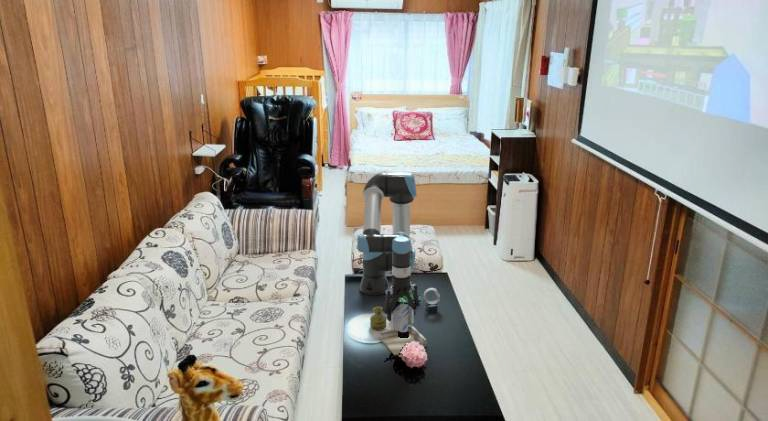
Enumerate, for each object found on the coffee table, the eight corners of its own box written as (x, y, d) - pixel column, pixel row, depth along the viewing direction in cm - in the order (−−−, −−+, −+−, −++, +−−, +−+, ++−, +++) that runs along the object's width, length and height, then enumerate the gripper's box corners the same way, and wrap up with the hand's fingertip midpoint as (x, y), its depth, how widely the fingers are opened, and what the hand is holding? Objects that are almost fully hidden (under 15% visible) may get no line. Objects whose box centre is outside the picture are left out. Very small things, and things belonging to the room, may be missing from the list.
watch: (441, 311, 250) (441, 290, 247) (424, 312, 249) (425, 291, 246) (438, 306, 255) (439, 285, 252) (422, 307, 254) (422, 286, 251)
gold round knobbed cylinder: (366, 327, 237) (366, 307, 234) (377, 321, 242) (377, 301, 239) (378, 332, 232) (378, 312, 229) (389, 326, 237) (389, 306, 234)
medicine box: (402, 332, 215) (402, 313, 213) (392, 329, 217) (392, 310, 214) (409, 323, 222) (409, 304, 219) (400, 321, 224) (400, 302, 221)
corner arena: (380, 339, 227) (380, 332, 226) (411, 331, 233) (411, 324, 232) (394, 355, 215) (394, 348, 214) (426, 347, 221) (426, 339, 220)
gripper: (381, 283, 205) (381, 334, 212) (429, 273, 214) (428, 323, 220) (373, 275, 212) (374, 325, 218) (420, 266, 220) (419, 315, 227)
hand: (401, 324), depth 219 cm, fingers closed on medicine box, 9 cm apart
